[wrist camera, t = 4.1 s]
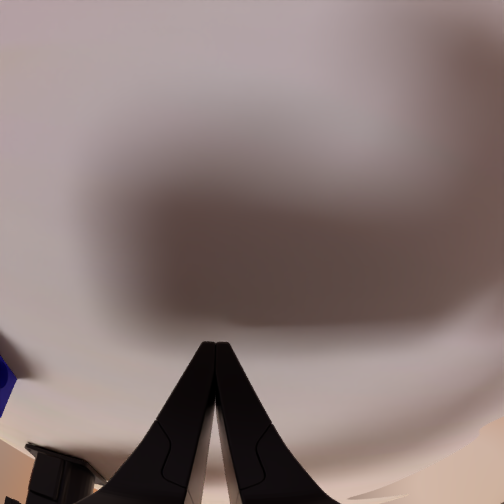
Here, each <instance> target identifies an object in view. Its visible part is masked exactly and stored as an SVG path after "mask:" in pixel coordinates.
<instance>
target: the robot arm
mask: <svg viewBox="0 0 504 504" xmlns="http://www.w3.org/2000/svg"><path fill="white" fill-rule="evenodd" d="M215 405H216V414H217V422H218V429H219V436H220V443H221V449H222V456H223V462H224V469H225V475H226V481H227V487H228V493H229V498H230V504H340V503H339V502H337V501H335V500H334V499H332V498H331V497H329V496H328V495H327V494H326V493H325V492H324V491H323V490H322V489H321V488H320V487H319V486H318V485H317V484H316V483H315V481H314V480H313V479H312V478H311V477H310V476H309V474H308V473H307V472H306V471H305V470H304V468H303V467H302V466H301V465H300V463H299V462H298V461H297V460H296V458H295V457H294V456H293V454H292V453H291V452H290V450H289V449H288V448H287V446H286V445H285V443H284V442H283V440H282V439H281V437H280V435H279V434H278V432H277V430H276V429H275V427H274V425H273V424H272V422H271V420H270V418H269V416H268V415H267V413H266V411H265V409H264V407H263V405H262V404H261V402H260V400H259V398H258V396H257V394H256V393H255V391H254V389H253V387H252V385H251V383H250V381H249V380H248V378H247V376H246V374H245V372H244V370H243V368H242V366H241V364H240V362H239V360H238V359H237V357H236V355H235V353H234V351H233V349H232V347H231V345H230V343H228V342H217V343H215V342H210V341H204V342H202V343H201V345H200V347H199V348H198V350H197V352H196V353H195V355H194V357H193V358H192V360H191V362H190V363H189V365H188V366H187V368H186V370H185V371H184V373H183V375H182V376H181V378H180V380H179V381H178V383H177V385H176V386H175V388H174V390H173V391H172V393H171V395H170V396H169V398H168V400H167V401H166V403H165V405H164V406H163V408H162V410H161V411H160V413H159V415H158V416H157V418H156V420H155V421H154V423H153V424H152V426H151V427H150V429H149V431H148V432H147V434H146V435H145V437H144V438H143V440H142V441H141V443H140V444H139V445H138V446H137V448H136V449H135V450H134V452H133V453H132V454H131V455H130V457H129V458H128V459H127V460H126V461H125V462H124V464H123V465H122V466H121V467H120V468H119V470H118V471H117V472H116V473H115V474H114V475H113V477H112V478H111V479H110V480H109V481H108V482H107V481H105V480H104V479H103V478H102V477H101V476H100V475H99V474H98V473H97V472H96V471H95V470H94V469H93V468H92V467H91V466H90V465H89V464H88V463H87V462H85V461H83V460H79V459H75V458H71V457H68V456H64V455H61V454H57V453H54V452H51V451H47V450H44V449H41V448H38V447H35V446H32V445H29V444H26V445H25V449H27V450H28V451H29V452H30V453H31V454H32V455H33V456H34V457H35V462H34V466H33V469H32V473H31V477H30V481H29V486H28V495H27V499H26V504H201V501H202V494H203V486H204V479H205V472H206V465H207V458H208V451H209V444H210V437H211V430H212V423H213V416H214V409H215ZM94 484H99V485H103V487H102V488H101V489H99V490H98V491H96V492H95V493H93V489H94ZM4 504H21V503H19V501H17V500H15V499H11V498H9V497H7V496H6V498H5V503H4ZM501 504H504V502H503V503H501Z"/></svg>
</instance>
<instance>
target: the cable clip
mask: <svg viewBox="0 0 504 504" xmlns="http://www.w3.org/2000/svg"><path fill="white" fill-rule="evenodd" d="M16 380H17V378H16V376H15V375H14V374H13V372H12V371H11V370H10V368H9V367H8V365H7V364H6V363H5V361H4V360H3V358H2V357H1V355H0V418H1V416H2V414H3V411H4V409H5V406H6V404H7V401H8V399H9V397H10V394H11V392H12V389H13V387H14V385H15V383H16Z"/></svg>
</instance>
